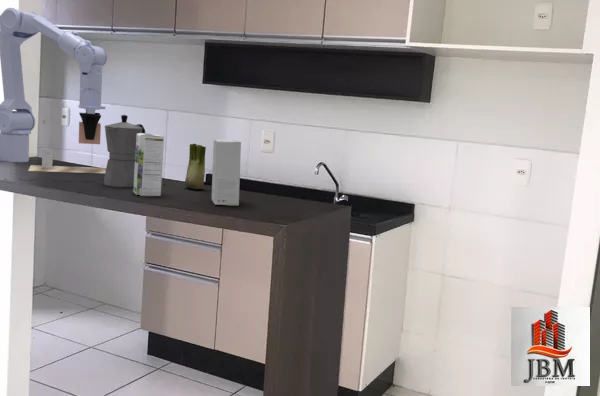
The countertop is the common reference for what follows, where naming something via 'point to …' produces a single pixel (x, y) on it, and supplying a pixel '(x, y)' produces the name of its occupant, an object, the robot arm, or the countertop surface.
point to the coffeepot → (121, 153)
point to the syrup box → (148, 164)
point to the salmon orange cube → (82, 135)
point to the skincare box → (226, 172)
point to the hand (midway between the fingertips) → (89, 138)
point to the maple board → (68, 169)
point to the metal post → (47, 158)
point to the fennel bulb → (196, 167)
